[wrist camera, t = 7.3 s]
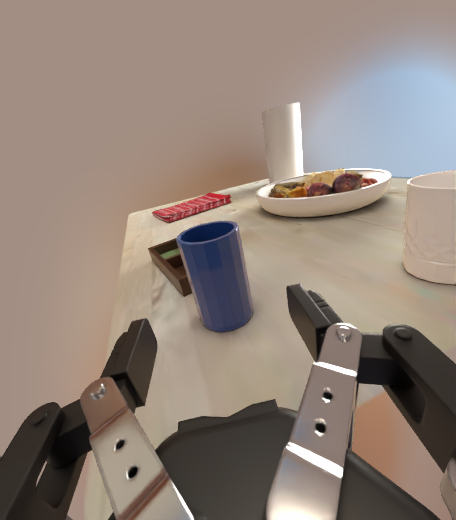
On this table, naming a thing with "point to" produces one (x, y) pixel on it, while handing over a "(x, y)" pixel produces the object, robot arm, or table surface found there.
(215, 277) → the cup
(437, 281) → the white cup
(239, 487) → the robot arm
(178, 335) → the table surface
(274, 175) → the cylinder vase
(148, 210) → the table surface
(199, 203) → the dish towel
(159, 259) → the holder
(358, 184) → the bowl
